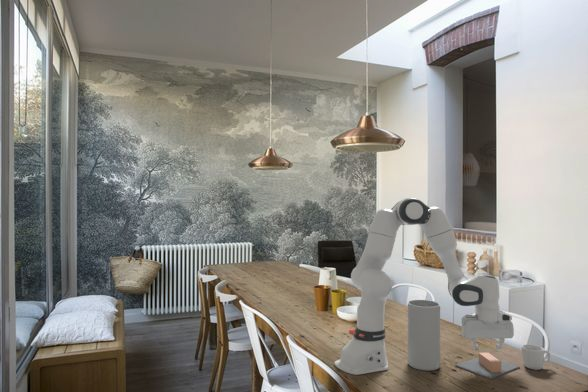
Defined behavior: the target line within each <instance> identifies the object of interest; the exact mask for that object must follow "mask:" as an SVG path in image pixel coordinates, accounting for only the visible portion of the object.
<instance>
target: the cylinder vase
mask: <svg viewBox="0 0 588 392" xmlns="http://www.w3.org/2000/svg"><path fill="white" fill-rule="evenodd" d="M407 363H408V365H409V366H410V367H411V368H413V369H415V370H419V371H424V372H425V371H426V372H427V371H428V372H430V371H436V370H438V369H440V367H441V303H439V302H438V301H433V300H428V299H412V300H408V301H407Z"/></svg>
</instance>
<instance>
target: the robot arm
mask: <svg viewBox="0 0 588 392" xmlns="http://www.w3.org/2000/svg"><path fill="white" fill-rule="evenodd" d="M402 225H403V226H412V225H419V226H420V228H421V229H422V230H423V233H424V235H425V238H426V241H427V242H428V245H429V246H430V248H431V249H432V252H433V253H434V254H435V255H436V256H437V257H438V258H439V260H440V262H441V263H442V266H443V268H444V271H445V273H446V276H447V282H448V284H447V290H448V293H449V295H450V297H452V299H453V300H454V302H455V303H456V304H458V305H459V306H460V307H461V306H462V307H470V306H474V308H475V310H474V314H465V315H464V316H463V317H461V331H460V332H461V333H460V334H461V336H462V338H464V339H466V340H470V342H471V343H472V348H473V350H474V351H478V350H479V345H478V344H477V343H476V342H477V340H482V339H483V340H484V339H485V340H486V339H488V340H489V339H495V340H496V339H498V340H499V341H497V343H495V349H496V350H502V347H503V345H504V343H505V339H512V338H514V335H515V330H514V329H515V328H514V324H513V322H512V321H513V316H512V315H511V314H510V313H507V312H506V311H502V310H500V304H499V300H500V285H499V280H498V279H497V278H496V277H495V276H493V275H492V274H488V273H481V272H478V273H477V274H475V275H474V276H472V277H470V278H467V277H466V276H465V275H464V273H463V271H462V268H461V265H460V264H459V263H460V262H459V261H458V258H457V254H456V251H457V245H458V243H457V239H456V235H455V231H454V228H453V227H452V224H451V223H450V220H449V218H448V217H447V215H446V213H445V212H444V211H443V209H442V208H441V207H437V206H428V205H427V204H425V203H424V202H423V201H421V200H420V199H418V198H415V197H409V198H403V199H401V200H400V201H398V202H396V204H394V205H393V207H392V208H391V209H389V208H380V209H379V210H377V212H376V213H375V215H374V216H373V219H372V221H371V224H370V227H369V231H368V234H367V238H366V242H365V247H364V248H363V252H362V253H361V256H360V259H358V262H357V264H356V266H355V267H354V268H353V269H352V271H351V273H350V279H351V281H352V284H353V285H354V287H355V288H356V289H357V290H359V291H360V292H361V297H360V301H359V303H358V304H359V305H358V306H357V308H356V327H355V329H352V328H349V330H348V334H350V335H352V336H353V337H352V338H351V339H350V340H349V342H348V343H346V344H345V346H344V347H342V349H341V350H340V356H339V359H337V360H335V361H334V365H335V367H336V368H338V369H339V370H341V371H342V372H345V373H347V374H351V375H354V376H355V375H356V376H357V375H358V376H359V375H363V374H370V373H375V372H381V371H388V370H389V361H388V357H387V350H386V343H385V338H386V328H385V307H386V303H387V300H388V296H389V295H390V293H391V292H392V290H393V281H392V279H391V277H390V276H389V275H388V274H387V273H386V272H384V270H383V269H384V266H385V265H386V263H387V262H388V260H389V259H391V257H392V253H393V251H394V250H393V249H394V246H395V242H396V237H397V233H398V230H399V228H400V227H401V226H402Z"/></svg>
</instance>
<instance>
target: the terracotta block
mask: <svg viewBox="0 0 588 392" xmlns="http://www.w3.org/2000/svg"><path fill="white" fill-rule="evenodd" d="M478 357H479V363H480V364H481V365H482V366H484V367H485V368H486V369H488V370H489V371H490V372H501V361H500V360H501V359H499V360H498V358H497V357H495V356H494V355H492V354H491V353H489V352H478Z"/></svg>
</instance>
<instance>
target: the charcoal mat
mask: <svg viewBox="0 0 588 392" xmlns="http://www.w3.org/2000/svg"><path fill="white" fill-rule="evenodd" d="M497 359H498V358H497ZM498 360H500V361H501V372H490V371H489V370H488V369H486V368H485V367H484V366H482V365H481V364H480V363H479V356H476V357H474V358H471V359H468V360H466V361H462V362H459V363H457V364H455V367H457V368H459V369H462V370H464V371H468V372H470V373H473V374H475V375H479V376H481V377H483V378H486V379H489V380H492V379H495V378H497V377H500V376H502V375H505V374H507V373H510V372H513V371H516V370H518V369H520V365H517V364H514V363H511V362H508V361H505V360H502V359H498Z"/></svg>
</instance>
